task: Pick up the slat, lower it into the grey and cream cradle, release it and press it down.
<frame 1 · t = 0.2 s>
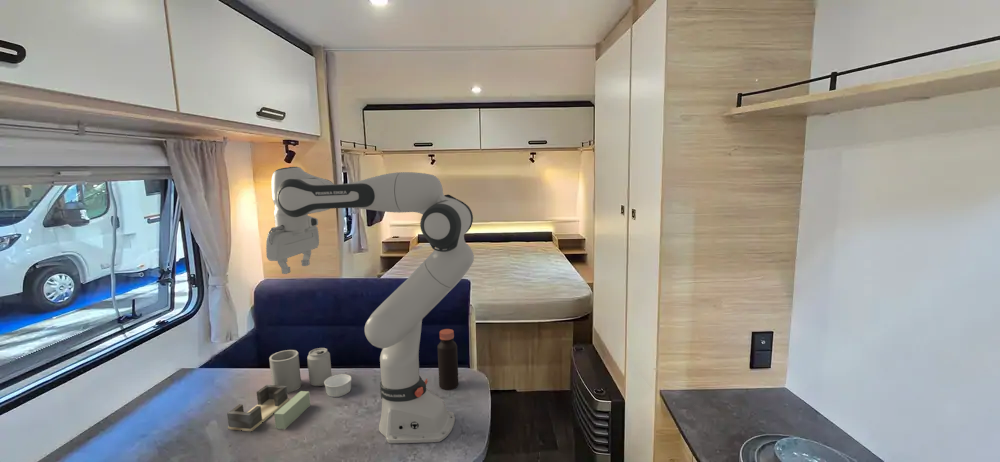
hand: (296, 269, 128), 47 cm above the table, tool pointing down, fingers open, 8 cm apart
can: (321, 382, 156), on the table
cup: (287, 387, 153), on the table
slat: (293, 416, 135), on the table
bottle: (448, 386, 152), on the table
ramekin: (338, 392, 150), on the table
grey and cream cradle: (260, 414, 137), on the table
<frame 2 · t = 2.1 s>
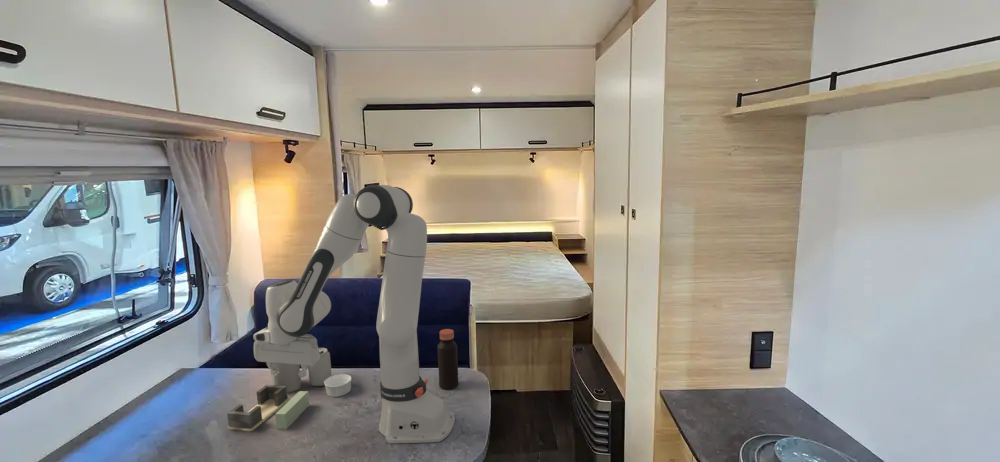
hand: (288, 375, 133), 14 cm above the table, tool pointing down, fingers open, 8 cm apart
nothing on the table moved.
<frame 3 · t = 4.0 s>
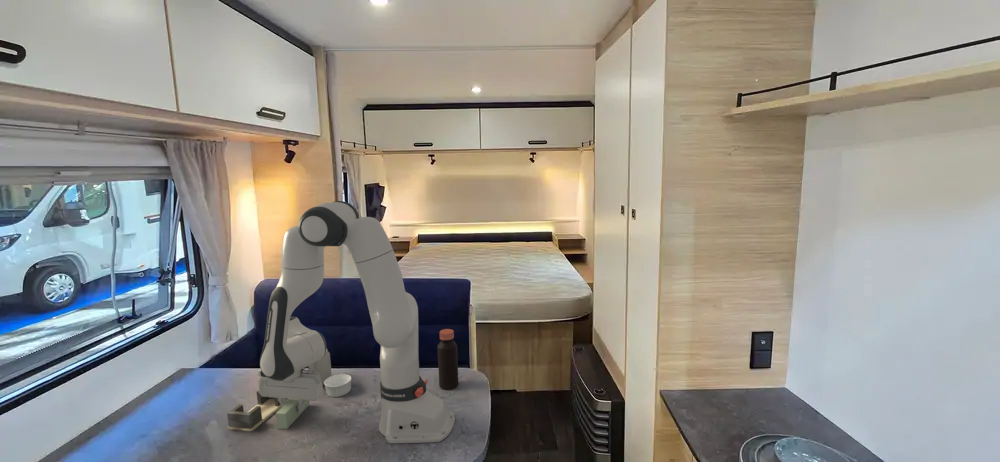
hand: (293, 409, 135), 2 cm above the table, tool pointing down, fingers closed on slat, 3 cm apart
slat: (293, 416, 135), on the table, touching gripper
everything else where it was.
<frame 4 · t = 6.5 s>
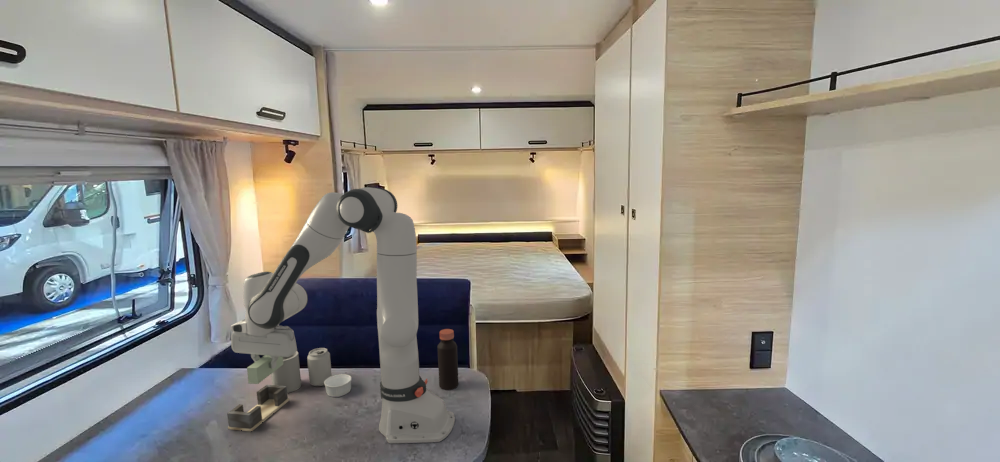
hand: (266, 367, 134), 16 cm above the table, tool pointing down, fingers closed on slat, 3 cm apart
slat: (266, 373, 134), point 14 cm above the table, touching gripper
everything else where it was.
when the fingers open (4 cm above the table, at t = 9.3 s): slat stays where it is, resting on grey and cream cradle.
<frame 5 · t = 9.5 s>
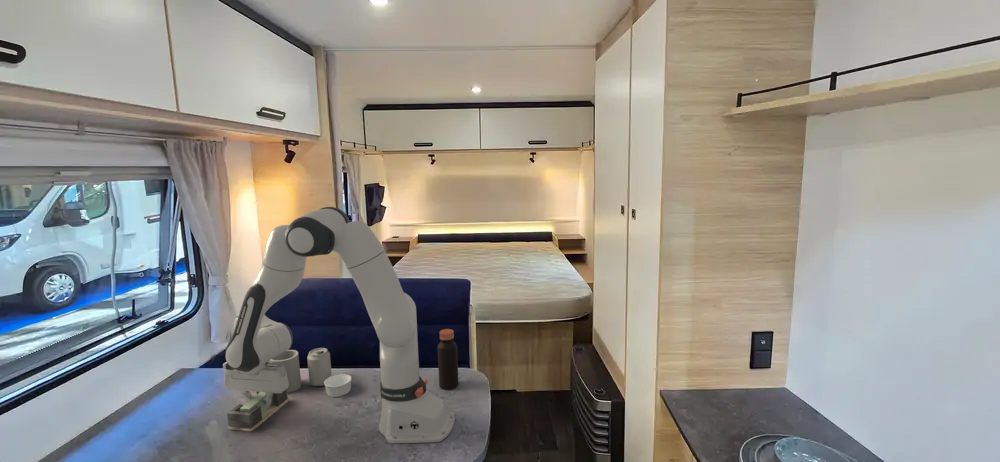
hand: (259, 402, 136), 4 cm above the table, tool pointing down, fingers open, 5 cm apart
slat: (260, 411, 137), point 1 cm above the table, touching grey and cream cradle
everything else where it was.
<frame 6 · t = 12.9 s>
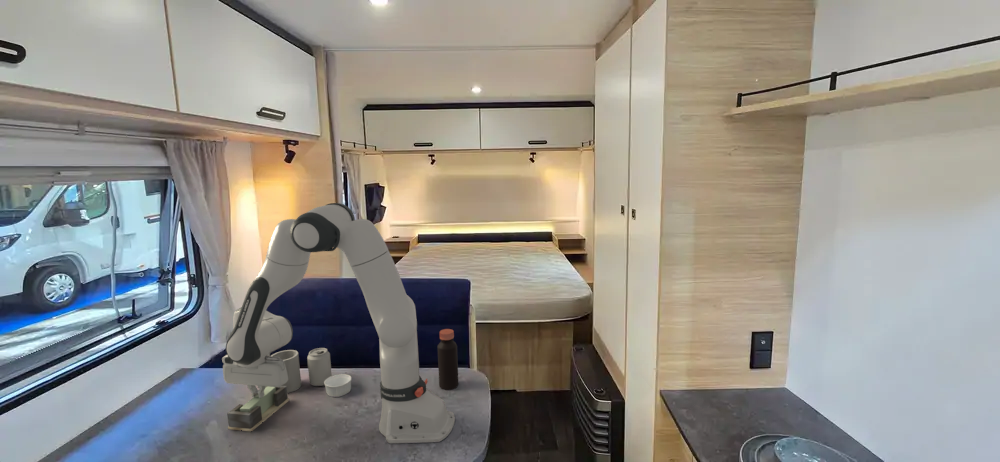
hand: (258, 396, 136), 6 cm above the table, tool pointing down, fingers closed
nothing on the table moved.
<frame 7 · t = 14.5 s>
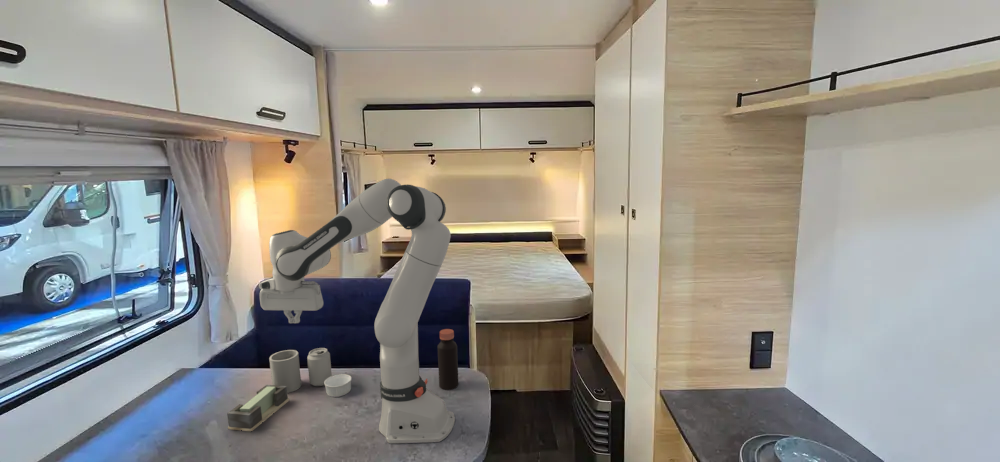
hand: (294, 322, 139), 28 cm above the table, tool pointing down, fingers closed
nothing on the table moved.
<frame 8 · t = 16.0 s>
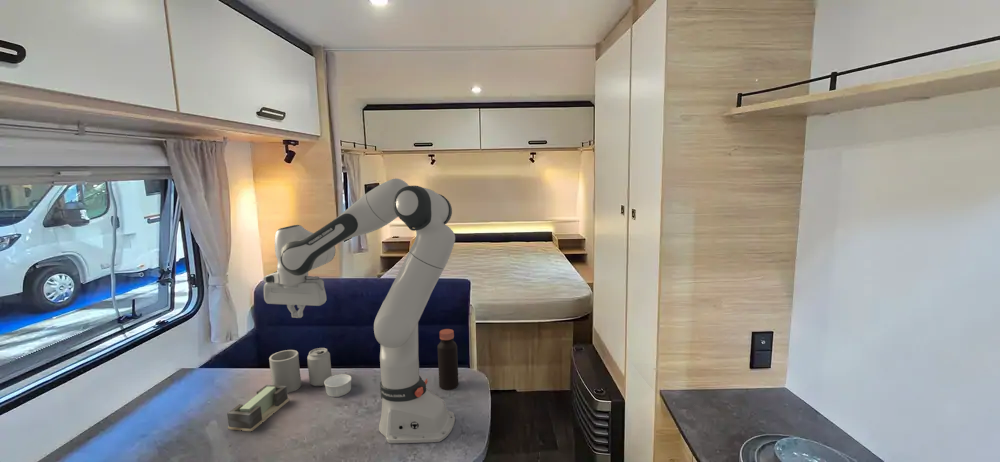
hand: (297, 317, 140), 29 cm above the table, tool pointing down, fingers closed
nothing on the table moved.
at the end: slat 0.1 cm off-centre on the grey and cream cradle, point 0.8 cm above the grey and cream cradle's base; slat tilted 0°; the gripper is holding nothing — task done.
